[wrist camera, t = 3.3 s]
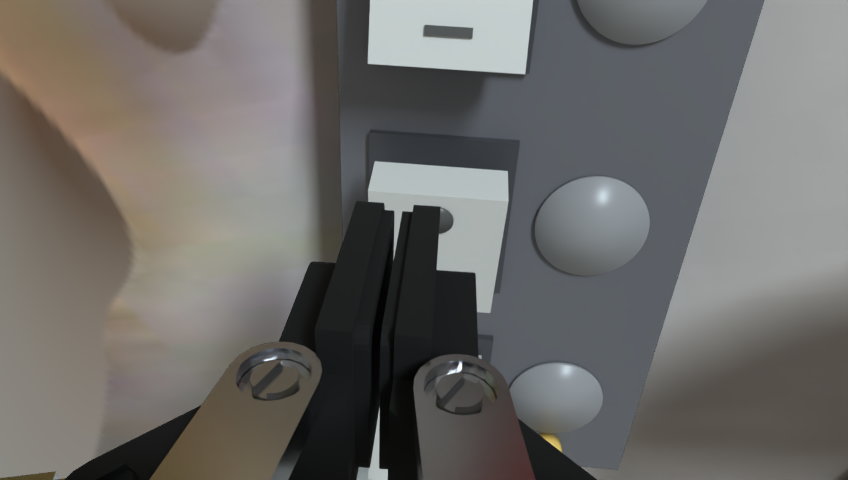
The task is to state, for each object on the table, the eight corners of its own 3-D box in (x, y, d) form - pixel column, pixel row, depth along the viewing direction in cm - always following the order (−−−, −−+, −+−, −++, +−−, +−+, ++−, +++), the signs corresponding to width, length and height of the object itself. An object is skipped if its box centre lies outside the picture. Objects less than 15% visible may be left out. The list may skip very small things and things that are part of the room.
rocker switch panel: (581, 490, 33) (594, 563, 29) (361, 469, 33) (347, 538, 30) (766, -186, 17) (839, -205, 14) (355, -205, 18) (325, -228, 14)
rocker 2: (490, 282, 22) (490, 314, 20) (379, 273, 22) (373, 305, 21) (507, 171, 18) (508, 203, 17) (374, 161, 18) (367, 192, 17)
